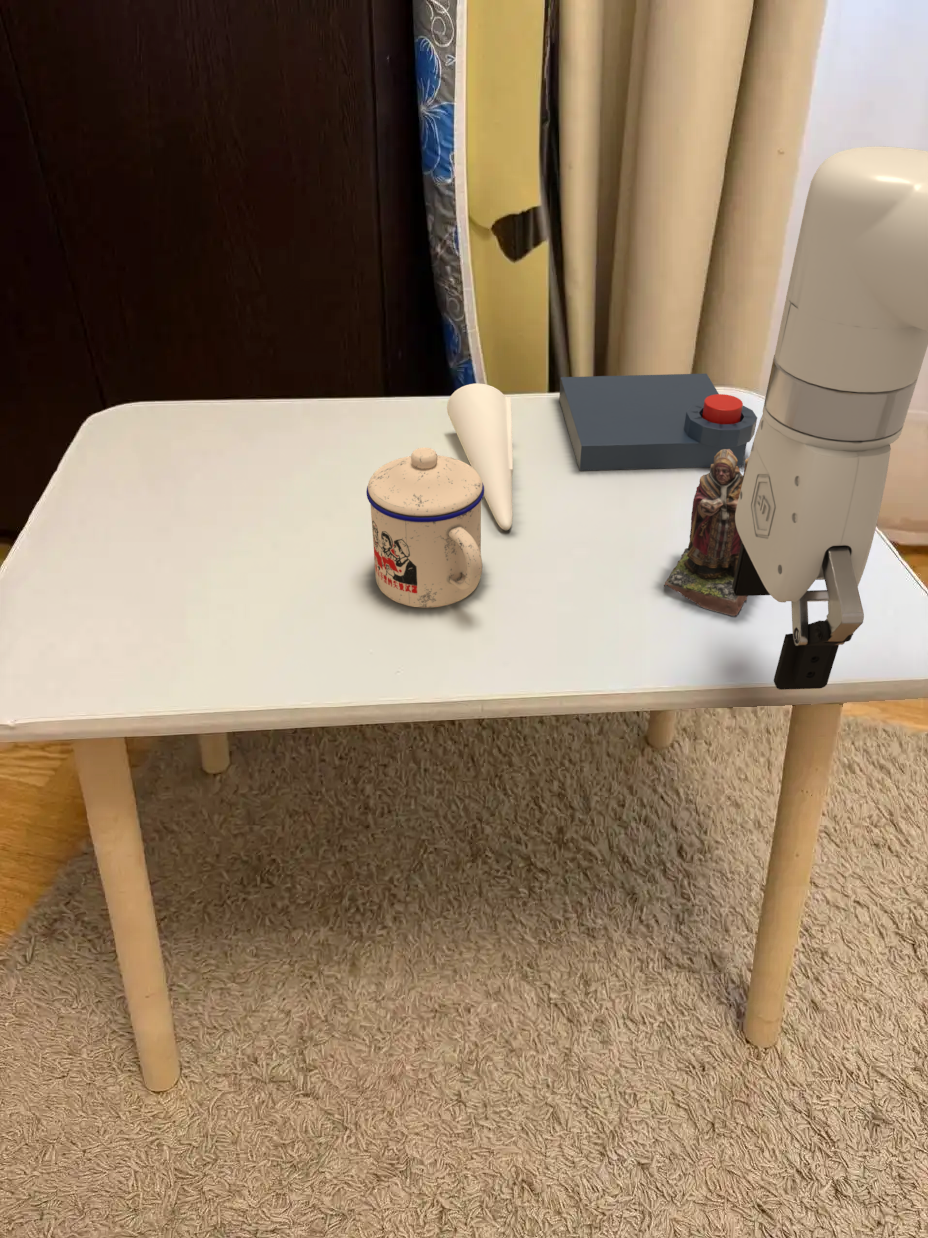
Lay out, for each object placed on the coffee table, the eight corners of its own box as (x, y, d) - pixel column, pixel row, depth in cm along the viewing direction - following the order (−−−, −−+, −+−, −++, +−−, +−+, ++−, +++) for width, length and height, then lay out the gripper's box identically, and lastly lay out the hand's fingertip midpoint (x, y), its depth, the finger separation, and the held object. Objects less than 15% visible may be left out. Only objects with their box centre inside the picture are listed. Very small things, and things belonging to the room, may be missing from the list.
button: (734, 409, 97) (737, 393, 96) (744, 426, 94) (747, 409, 93) (698, 410, 97) (700, 394, 96) (707, 427, 94) (709, 410, 93)
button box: (712, 396, 109) (718, 357, 107) (756, 471, 96) (764, 428, 93) (559, 400, 109) (561, 360, 106) (581, 476, 95) (584, 433, 92)
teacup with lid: (353, 569, 83) (342, 443, 76) (446, 537, 87) (444, 415, 80) (426, 645, 75) (421, 512, 68) (525, 606, 78) (530, 477, 71)
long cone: (439, 548, 88) (444, 429, 102) (510, 554, 89) (506, 434, 103) (444, 496, 84) (449, 380, 98) (519, 502, 85) (513, 386, 99)
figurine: (683, 556, 84) (702, 427, 77) (760, 576, 82) (786, 445, 74) (657, 595, 80) (675, 461, 72) (737, 617, 77) (763, 481, 70)
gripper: (729, 336, 61) (689, 563, 72) (822, 474, 48) (756, 730, 58) (848, 334, 62) (791, 561, 72) (974, 471, 48) (881, 726, 59)
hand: (775, 636), depth 65 cm, fingers open, 9 cm apart
